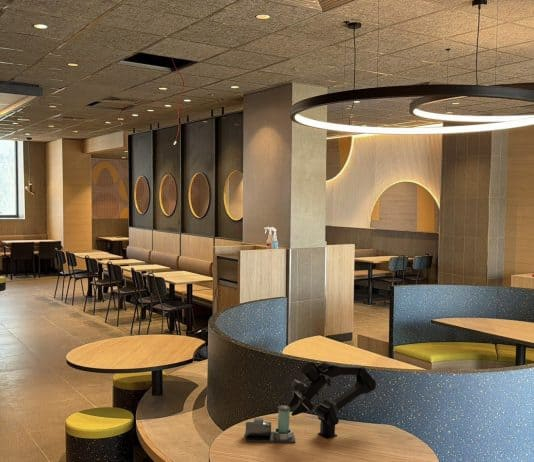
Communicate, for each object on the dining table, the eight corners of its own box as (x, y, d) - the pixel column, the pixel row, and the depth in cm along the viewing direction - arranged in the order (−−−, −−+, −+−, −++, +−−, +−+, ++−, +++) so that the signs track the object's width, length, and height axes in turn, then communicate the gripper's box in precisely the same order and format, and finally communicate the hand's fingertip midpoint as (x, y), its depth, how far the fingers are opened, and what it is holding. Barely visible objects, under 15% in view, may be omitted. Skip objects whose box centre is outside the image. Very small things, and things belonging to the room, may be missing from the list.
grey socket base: (292, 434, 267) (293, 415, 267) (295, 443, 257) (295, 423, 257) (245, 433, 266) (246, 414, 266) (245, 442, 256) (246, 423, 256)
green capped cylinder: (290, 435, 263) (292, 407, 262) (284, 439, 259) (285, 410, 258) (281, 433, 266) (282, 404, 265) (275, 436, 262) (276, 407, 261)
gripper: (298, 367, 271) (273, 392, 270) (307, 380, 253) (281, 406, 252) (314, 384, 273) (290, 408, 272) (324, 398, 255) (298, 424, 253)
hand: (289, 411), depth 262 cm, fingers open, 9 cm apart
